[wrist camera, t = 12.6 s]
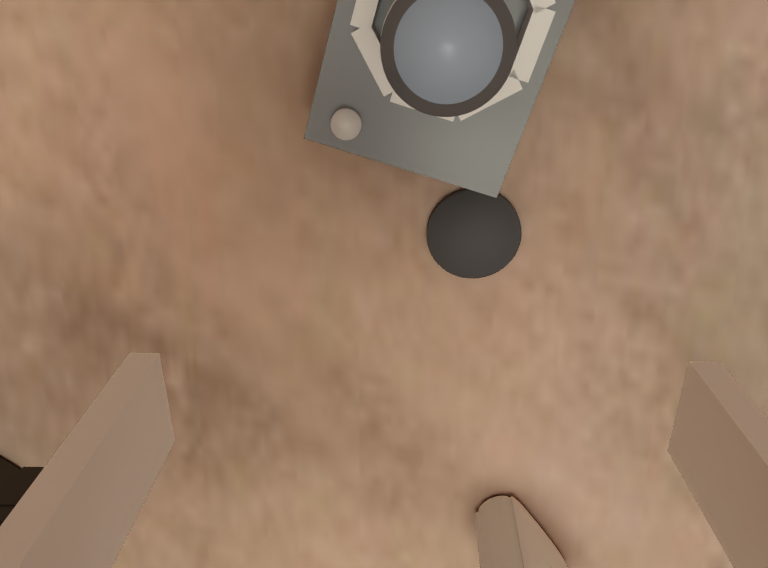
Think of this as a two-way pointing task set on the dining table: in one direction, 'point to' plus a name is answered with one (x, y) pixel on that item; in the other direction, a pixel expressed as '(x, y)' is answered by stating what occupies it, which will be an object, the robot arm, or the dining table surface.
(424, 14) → the lens
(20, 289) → the dining table surface
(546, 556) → the photo printer
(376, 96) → the camera body
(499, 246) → the lens cap
